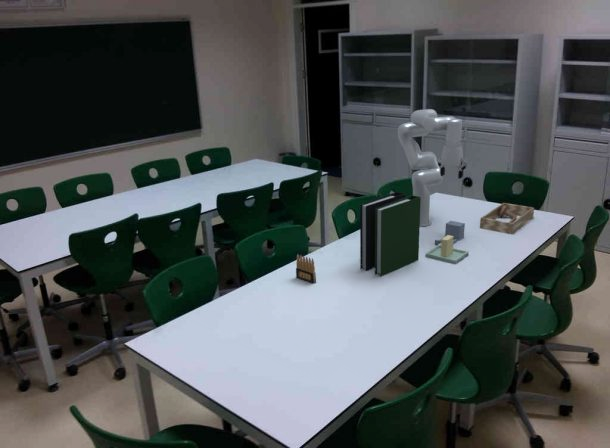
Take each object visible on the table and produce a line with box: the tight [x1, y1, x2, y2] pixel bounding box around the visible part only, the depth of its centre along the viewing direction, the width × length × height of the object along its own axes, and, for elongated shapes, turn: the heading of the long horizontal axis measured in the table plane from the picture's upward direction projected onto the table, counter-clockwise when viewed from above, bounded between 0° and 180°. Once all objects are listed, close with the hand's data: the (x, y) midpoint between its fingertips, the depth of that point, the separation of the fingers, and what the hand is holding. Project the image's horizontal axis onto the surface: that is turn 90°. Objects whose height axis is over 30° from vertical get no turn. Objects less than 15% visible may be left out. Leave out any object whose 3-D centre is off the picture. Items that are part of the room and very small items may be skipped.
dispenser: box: [434, 220, 466, 246], centre depth 282 cm, size 8×18×8 cm, turn 140°
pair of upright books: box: [359, 191, 421, 278], centre depth 253 cm, size 27×15×32 cm, turn 132°
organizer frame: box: [479, 202, 535, 235], centre depth 306 cm, size 18×34×6 cm, turn 140°
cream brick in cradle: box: [440, 235, 454, 257], centre depth 263 cm, size 3×7×9 cm, turn 140°
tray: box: [424, 244, 469, 265], centre depth 264 cm, size 16×14×2 cm
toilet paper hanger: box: [497, 205, 518, 223], centre depth 307 cm, size 25×9×8 cm, turn 145°
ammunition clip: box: [295, 253, 317, 284], centre depth 242 cm, size 11×2×12 cm, turn 48°
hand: (451, 176), depth 275 cm, fingers open, 9 cm apart
